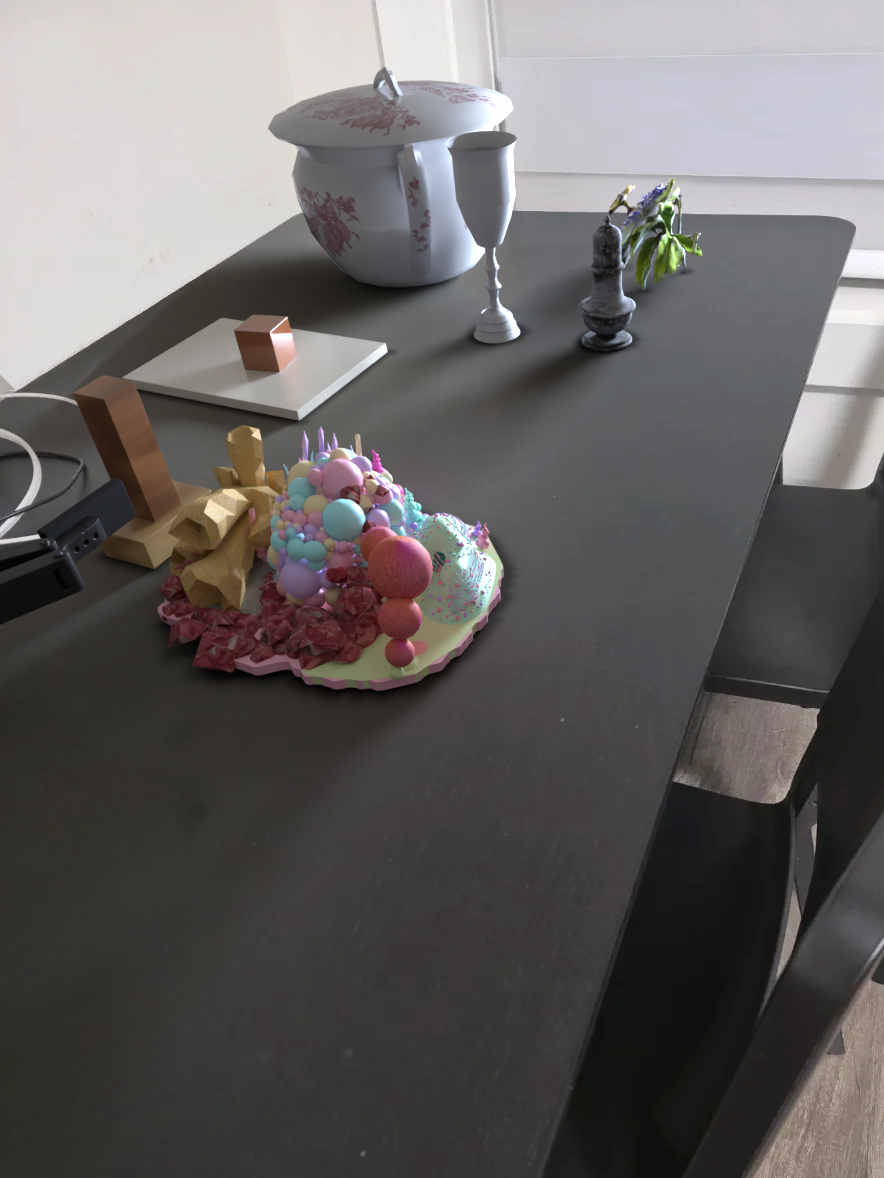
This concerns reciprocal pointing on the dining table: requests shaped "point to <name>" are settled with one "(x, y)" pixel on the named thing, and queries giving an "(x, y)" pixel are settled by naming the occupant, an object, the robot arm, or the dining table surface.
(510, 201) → the chalice
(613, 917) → the dining table surface
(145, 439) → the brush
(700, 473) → the dining table surface
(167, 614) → the pastel sphere sculpture
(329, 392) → the tile
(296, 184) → the chamber pot
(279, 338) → the clay cube
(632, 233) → the passion flower
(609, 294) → the salt shaker
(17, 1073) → the dining table surface
